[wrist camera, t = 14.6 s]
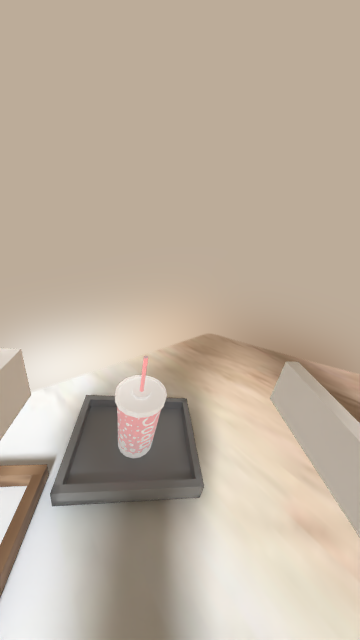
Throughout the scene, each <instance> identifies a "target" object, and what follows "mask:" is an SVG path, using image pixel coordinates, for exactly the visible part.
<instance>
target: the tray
mask: <svg viewBox="0 0 360 640" xmlns="http://www.w3.org/2000/svg"><path fill="white" fill-rule="evenodd" d="M203 488H204V484H203V479H202V474H201V469H200V464H199V459H198V454H197V449H196V444H195V439H194V434H193V429H192V424H191V419H190V414H189V409H188V404H187V399H185V398H166V400H165V404H164V407H163V408H162V409H161V412H160V415H159V419H158V423H157V426H156V430H155V434H154V437H153V441H152V444H151V448H150V450H149V451H148V452H147V453H146V454H145V455H143V456H141V457H139V458H130V457H126V456H125V455H123V454H122V453H121V452H120V449H119V447H118V416H117V405H116V403H115V396H95V395H86V397H85V400H84V403H83V405H82V408H81V411H80V414H79V416H78V419H77V422H76V425H75V427H74V430H73V433H72V436H71V438H70V441H69V444H68V446H67V449H66V452H65V455H64V457H63V460H62V463H61V466H60V468H59V471H58V474H57V477H56V479H55V482H54V485H53V488H52V490H51V493H50V496H51V503H52V506H65V505H82V504H98V503H115V502H132V501H149V500H166V499H182V498H199V497H200V495H201V493H202V490H203Z"/></svg>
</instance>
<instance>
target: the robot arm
mask: <svg viewBox="0 0 360 640" xmlns="http://www.w3.org/2000/svg"><path fill="white" fill-rule="evenodd" d="M30 396H31V392H30V388H29V383H28V379H27V374H26V370H25V365H24V360H23V356H22V351H21V349H11V348H1V349H0V440H1V438H2V437H3V436H4V434H5V433H6V431H7V430H8V428H9V427H10V425H11V424H12V422H13V421H14V419H15V418H16V416H17V415H18V413H19V412H20V410H21V409H22V408H23V406H24V405H25V403H26V402H27V400H28V399H29V397H30ZM270 399H271V401H272V402H273V404H274V406H275V407H276V409H277V410H278V412H279V413H280V415H281V416H282V418H283V419H284V421H285V423H286V424H287V426H288V427H289V429H290V430H291V432H292V433H293V435H294V437H295V438H296V440H297V441H298V443H299V444H300V446H301V447H302V449H303V450H304V452H305V454H306V455H307V457H308V458H309V460H310V461H311V463H312V464H313V466H314V468H315V469H316V471H317V472H318V474H319V475H320V477H321V478H322V480H323V481H324V483H325V485H326V486H327V488H328V489H329V491H330V492H331V494H332V495H333V497H334V499H335V500H336V502H337V503H338V505H339V506H340V508H341V509H342V511H343V513H344V514H345V516H346V517H347V519H348V520H349V522H350V523H351V525H352V526H353V528H354V530H355V531H356V533H357V534H358V536H359V537H360V423H359V422H358V421H357V420H356V419H355V418H354V417H353V416H352V415H351V414H350V413H349V412H348V411H347V410H346V409H345V408H344V407H343V406H342V405H341V404H340V403H339V402H338V401H337V400H336V399H335V398H334V397H333V396H332V395H331V394H330V393H329V392H328V391H327V390H326V389H325V388H324V387H323V386H322V385H321V384H320V383H319V382H318V381H317V380H316V379H315V378H314V377H313V376H312V375H311V374H310V373H309V372H308V371H307V370H306V369H305V368H304V367H303V366H302V365H301V364H300V363H299V362H288V361H286V363H285V365H284V367H283V369H282V372H281V374H280V376H279V379H278V381H277V383H276V385H275V388H274V390H273V392H272V394H271V397H270Z"/></svg>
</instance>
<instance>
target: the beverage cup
mask: <svg viewBox="0 0 360 640" xmlns="http://www.w3.org/2000/svg"><path fill="white" fill-rule="evenodd" d="M147 362H148V356H144V359H143V368H142V375H134V376H131V377H127V378H126V379H124V380H123V381H121V382H120V383H119V385H118V386H117V388H116V391H115V403H116V405H117V416H118V447H119V449H120V452H121V453H122V454H123V455H125V456H126V457H130V458H139V457H141V456H143V455H145V454H146V453H147V452H148V451H149V450H150V448H151V444H152V441H153V437H154V434H155V430H156V426H157V423H158V419H159V415H160V412H161V409H162V408H163V407H164V404H165V400H166V397H167V393H166V388H165V386H164V385H163V384H162V383H161V381H159V380H157V379H156V378H154V377H151V376H147V375H146V370H147Z"/></svg>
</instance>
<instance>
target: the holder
mask: <svg viewBox="0 0 360 640" xmlns="http://www.w3.org/2000/svg"><path fill="white" fill-rule="evenodd" d="M48 476H49V473H48V466H47V465H7V466H0V487H8V486H27V488H26V490H25V493H24V495H23V497H22V499H21V501H20V503H19V506H18V508H17V510H16V512H15V514H14V516H13V519H12V521H11V523H10V525H9V527H8V529H7V532H6V534H5V536H4V538H3V540H2V543H1V545H0V597H1V594H2V592H3V589H4V587H5V584H6V581H7V579H8V576H9V574H10V571H11V569H12V566H13V564H14V561H15V559H16V556H17V554H18V551H19V549H20V546H21V544H22V541H23V539H24V536H25V534H26V531H27V529H28V526H29V524H30V521H31V519H32V516H33V513H34V511H35V508H36V506H37V503H38V501H39V498H40V496H41V493H42V491H43V488H44V486H45V483H46V481H47V478H48Z"/></svg>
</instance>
